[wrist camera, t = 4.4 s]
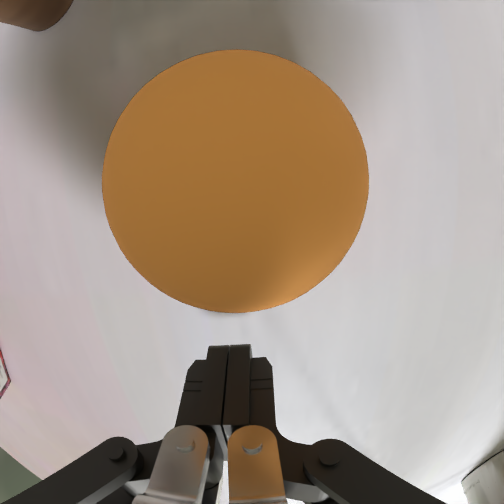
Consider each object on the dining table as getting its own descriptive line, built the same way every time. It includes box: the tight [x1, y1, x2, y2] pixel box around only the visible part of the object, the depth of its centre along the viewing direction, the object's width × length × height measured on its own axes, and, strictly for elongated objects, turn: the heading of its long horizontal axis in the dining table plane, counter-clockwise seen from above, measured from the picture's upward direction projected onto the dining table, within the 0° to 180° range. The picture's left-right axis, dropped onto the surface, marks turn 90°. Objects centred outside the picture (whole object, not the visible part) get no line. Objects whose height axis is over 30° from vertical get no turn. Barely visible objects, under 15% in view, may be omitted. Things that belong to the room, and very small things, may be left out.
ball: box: [102, 49, 369, 313], centre depth 7 cm, size 6×6×6 cm
